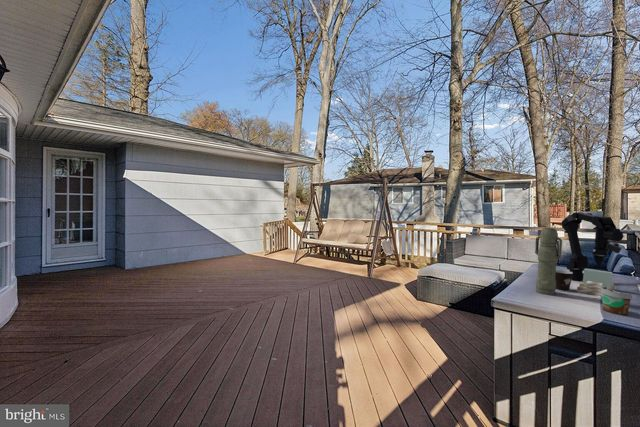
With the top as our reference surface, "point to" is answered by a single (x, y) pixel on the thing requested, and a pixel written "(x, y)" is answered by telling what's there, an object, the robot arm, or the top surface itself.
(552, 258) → the thermos
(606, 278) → the green board
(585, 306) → the top surface
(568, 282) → the coffee mug
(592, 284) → the offcut stack
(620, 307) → the food container
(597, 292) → the rack
